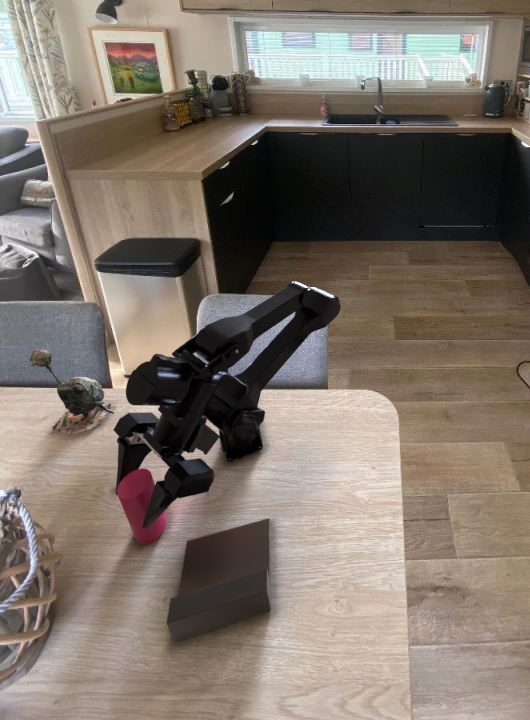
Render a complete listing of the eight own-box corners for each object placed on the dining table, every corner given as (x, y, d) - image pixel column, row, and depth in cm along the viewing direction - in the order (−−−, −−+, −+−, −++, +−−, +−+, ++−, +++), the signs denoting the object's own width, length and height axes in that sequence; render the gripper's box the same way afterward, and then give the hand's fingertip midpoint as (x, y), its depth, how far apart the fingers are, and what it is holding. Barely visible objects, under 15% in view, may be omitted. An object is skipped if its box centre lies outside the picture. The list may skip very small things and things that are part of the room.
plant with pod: (91, 445, 74) (58, 365, 66) (46, 431, 77) (9, 352, 69) (127, 409, 81) (101, 334, 73) (85, 397, 84) (55, 323, 76)
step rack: (189, 548, 59) (183, 528, 57) (270, 525, 62) (267, 505, 60) (174, 643, 50) (166, 623, 48) (271, 610, 53) (267, 591, 51)
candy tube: (167, 507, 64) (152, 463, 60) (166, 535, 61) (150, 491, 56) (136, 520, 62) (119, 475, 58) (133, 550, 59) (114, 505, 54)
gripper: (259, 432, 64) (210, 536, 60) (193, 381, 73) (147, 468, 69) (208, 436, 55) (145, 559, 51) (140, 377, 64) (83, 477, 60)
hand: (131, 510), depth 58 cm, fingers open, 8 cm apart
